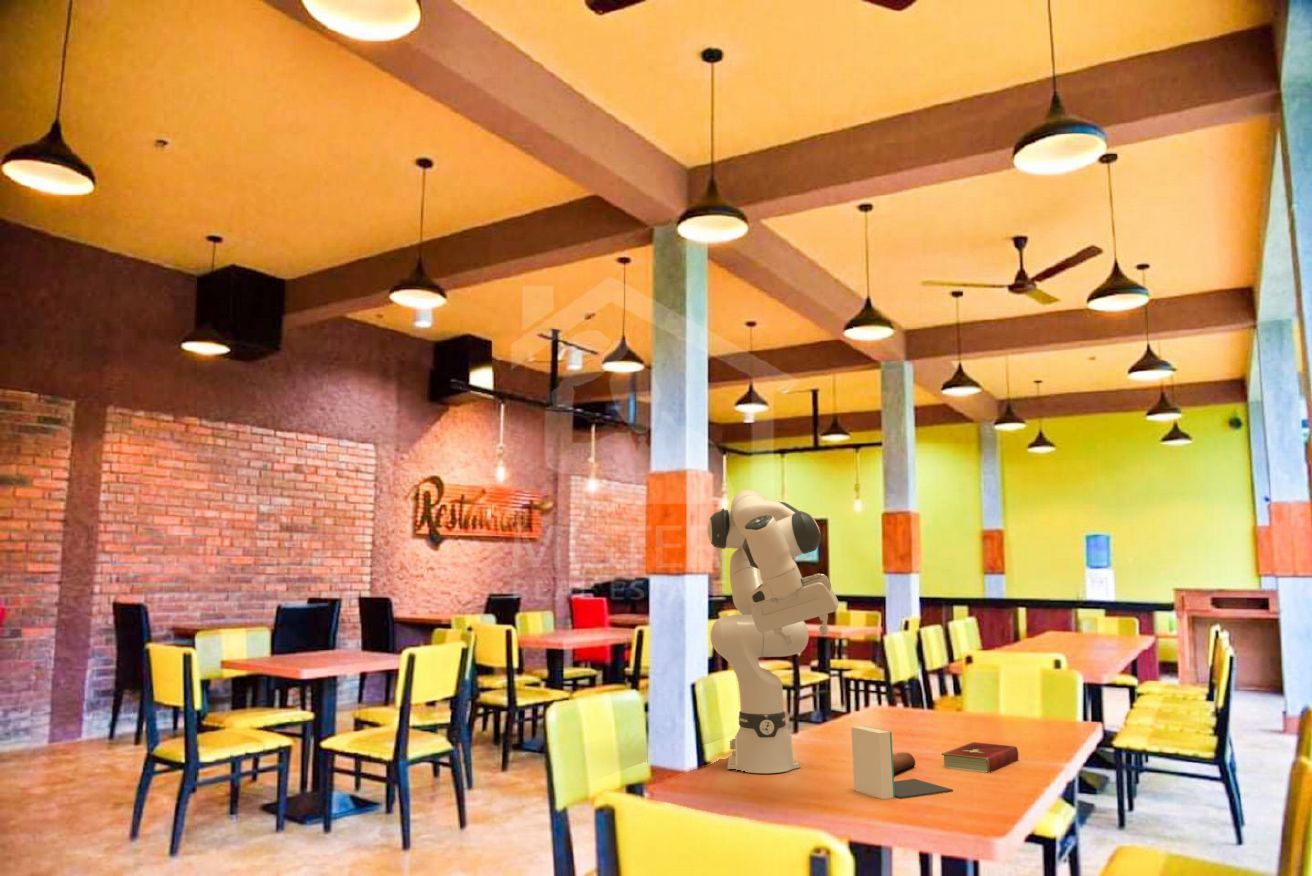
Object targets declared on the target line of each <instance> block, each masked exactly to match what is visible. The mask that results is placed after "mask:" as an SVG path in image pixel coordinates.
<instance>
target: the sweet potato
mask: <svg viewBox="0 0 1312 876" xmlns="http://www.w3.org/2000/svg"><path fill="white" fill-rule="evenodd" d="M915 766H916V760H915V757H914V756H913V755H912V754H911V753H909V752H897V753H893V769H894V775H895V774H896V773H898V772H901V771H904V770H905V769H908V768H914V767H915Z"/></svg>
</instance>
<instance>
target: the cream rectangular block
mask: <svg viewBox="0 0 1312 876" xmlns="http://www.w3.org/2000/svg"><path fill="white" fill-rule="evenodd" d="M850 728H851V745H852V746H851V747H852V748H851V749H852V767H853V768H852V769H853V770H852V771H853V787H854V789H853V790H854V791H855V790H856V792H857V793H861V794H863V795H868V796H870V797H874V798H876V799H880V800H889V799H895V798H896V797H895V788H894V781H895V774H894V769H893V754H894V751H893V737H892V731H890V730H884V729H879V728H875V727H870V726H865V725H859V726H858V725H857V726H851V727H850Z"/></svg>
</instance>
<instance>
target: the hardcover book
mask: <svg viewBox="0 0 1312 876" xmlns="http://www.w3.org/2000/svg"><path fill="white" fill-rule="evenodd" d="M941 756H943V761H944V762H943V763H944V765H943V766H944V768H946V769H953V770H960V769H964V771H968V770H972V771H971V772H977V771H981V772H980V773H985V772H987V773H986V774H990V773H992V772H991V771H993V770H995V771H997V770H999V769H1001V768H1004V767H1006V766H1009V765H1010V764H1013V763H1014V762H1018V761H1019V750H1018V747H1017V746H1016V745H1008V744H998V743H987V742H986V743H985V742H977V741H972V742H969V743H967V744H964V745H961V746H958V747H955V748H953V749H950V750H947V751H945V752H942V753H941ZM996 769H997V770H996ZM989 772H990V773H989ZM993 772H994V771H993Z"/></svg>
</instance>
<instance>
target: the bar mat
mask: <svg viewBox="0 0 1312 876" xmlns="http://www.w3.org/2000/svg"><path fill="white" fill-rule="evenodd" d="M894 788H895V798H897V799H900V800H901V799H908V798H915V797H923V796H929V795H935V794H936V795H937V794H944V793H943V792H945V793H950V792H949V791H952V792H954V789H952V788H949V787H945V786H942V785H937V784H935V783H931V782H927V781H923V780H920V779H918V778H917V779H916V778H910V779H903V780H894Z"/></svg>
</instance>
